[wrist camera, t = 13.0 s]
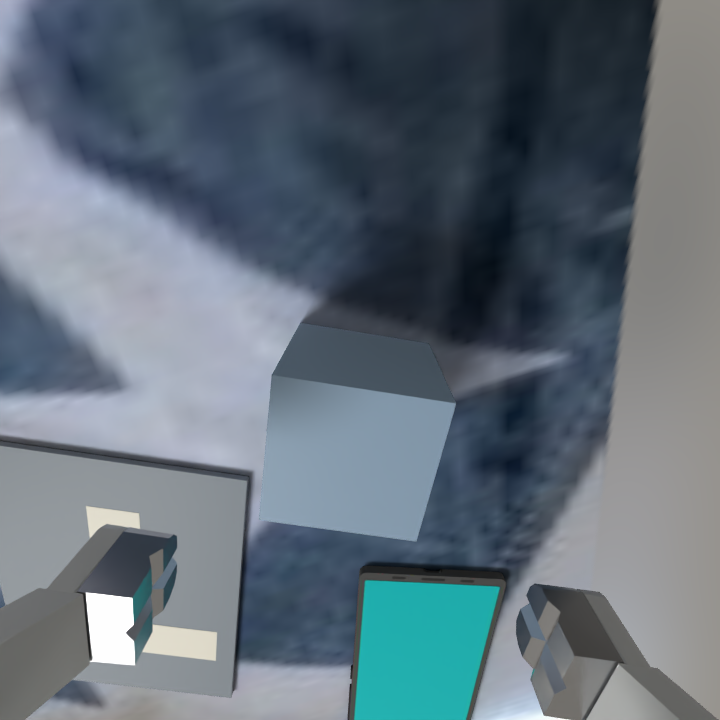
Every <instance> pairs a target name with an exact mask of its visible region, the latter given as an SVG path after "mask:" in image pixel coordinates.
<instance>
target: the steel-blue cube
mask: <svg viewBox="0 0 720 720" xmlns="http://www.w3.org/2000/svg"><path fill="white" fill-rule="evenodd" d="M455 406H456V402H455V400H454V398H453V396H452V393H451V391H450V389H449V387H448V385H447V382H446V380H445V378H444V376H443V374H442V371H441V369H440V367H439V365H438V363H437V360H436V358H435V356H434V354H433V352H432V350H431V347H430V345H429V343H422V342H416V341H410V340H404V339H398V338H392V337H385V336H379V335H373V334H367V333H361V332H354V331H348V330H342V329H336V328H330V327H324V326H317V325H311V324H305V323H300V325H299V326H298V328H297V330H296V332H295V334H294V335H293V337H292V339H291V341H290V343H289V345H288V346H287V348H286V350H285V352H284V354H283V356H282V357H281V359H280V361H279V363H278V365H277V367H276V368H275V370H274V372H273V374H272V379H271V390H270V401H269V413H268V424H267V435H266V446H265V457H264V468H263V480H262V491H261V502H260V513H259V520H263V521H270V522H278V523H285V524H292V525H300V526H307V527H314V528H322V529H329V530H336V531H344V532H351V533H358V534H366V535H373V536H380V537H388V538H395V539H402V540H410V541H417V537H418V534H419V530H420V527H421V523H422V520H423V516H424V513H425V509H426V506H427V503H428V499H429V496H430V492H431V489H432V485H433V482H434V478H435V475H436V471H437V468H438V465H439V461H440V458H441V454H442V451H443V447H444V444H445V440H446V437H447V433H448V430H449V427H450V423H451V420H452V416H453V413H454V409H455Z"/></svg>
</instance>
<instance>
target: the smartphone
mask: <svg viewBox="0 0 720 720" xmlns="http://www.w3.org/2000/svg"><path fill="white" fill-rule="evenodd" d="M505 587H506V582H505V579H504V576H503V574H502V573H500V572H487V571H467V570H447V569H440V571H427V570H425V568H406V567H385V566H363V567H362V568H361V569H360V572H359V586H358V600H357V615H356V629H355V643H354V657H353V666H352V665H351V676H350V679H352V684H350V691H349V705H348V720H471V716H472V712H473V709H474V705H475V701H476V697H477V693H478V690H479V686H480V682H481V678H482V674H483V671H484V667H485V663H486V659H487V655H488V652H489V648H490V644H491V640H492V637H493V633H494V629H495V625H496V621H497V618H498V614H499V610H500V606H501V602H502V599H503V595H504V591H505Z"/></svg>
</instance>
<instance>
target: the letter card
mask: <svg viewBox="0 0 720 720" xmlns="http://www.w3.org/2000/svg"><path fill="white" fill-rule="evenodd" d="M248 483H249V477H248V476H241V475H234V474H227V473H220V472H213V471H206V470H199V469H192V468H185V467H178V466H171V465H164V464H157V463H150V462H143V461H136V460H129V459H122V458H115V457H108V456H101V455H94V454H87V453H80V452H73V451H66V450H59V449H52V448H45V447H38V446H31V445H24V444H17V443H10V442H3V441H0V584H1V589H2V593H3V597H4V601H5V605H8V604H10V603H12V602H13V601H15V600H17V599H19V598H21V597H23V596H25V595H26V594H28V593H30V592H32V591H34V590H36V589H38V588H43V589H47V587H48V586H49V585H50V584H51V583H52V582H53V581H54V579H55V578H56V577H57V576H58V575H59V574H60V572H61V571H62V570H63V569H64V568H65V567H66V566H67V564H68V563H69V562H70V561H71V560H72V559H73V557H74V556H75V555H76V554H77V553H78V552H79V551H80V549H81V548H82V547H83V546H84V545H85V544H86V542H87V541H88V540H89V539H90V538H91V537H92V536H93V534H94V533H95V532H96V531H97V530H98V529H99V528H100V527H102V526H104V525H105V524H111V525H117V526H123V527H132V528H138V529H144V530H150V531H156V532H162V533H168V534H174V535H176V536H177V549H176V551H175V553H174V555H173V556H172V557H173V558H174V560H175V561H176V562H177V574H176V580H175V584H174V587H173V590H172V593H171V596H170V598H169V600H168V602H167V604H166V606H165V608H164V610H163V611H162V612H161V613H159V614H158V615H157V616H155V617H154V618H153V632H152V634H151V636H150V638H149V639H148V641H147V643H146V645H145V647H144V649H143V651H142V653H141V655H140V657H139V659H138V661H137V663H136V664H135V665H124V664H113V663H102V662H91V661H90V665H89V666H87V667H86V668H85V669H84V670H83V671H82V672H80V673H79V674H78V675H77V676H76V677H75V678H73V679H72V680H79V681H88V682H96V683H105V684H114V685H123V686H131V687H140V688H149V689H157V690H166V691H175V692H184V693H192V694H201V695H210V696H219V697H227V698H231V697H232V693H233V683H234V670H235V656H236V643H237V629H238V616H239V603H240V589H241V576H242V563H243V549H244V536H245V523H246V509H247V496H248Z"/></svg>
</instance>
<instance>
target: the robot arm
mask: <svg viewBox="0 0 720 720" xmlns="http://www.w3.org/2000/svg"><path fill="white" fill-rule="evenodd" d="M176 549H177V536H176V535H174V534H168V533H162V532H156V531H150V530H144V529H138V528H132V527H123V526H117V525H111V524H105V525H104V526H102V527H100V528H99V529H98V530H97V531H96V532H95V533H94V534H93V536H92V537H91V538H90V539H89V540H88V541H87V542H86V544H85V545H84V546H83V547H82V548H81V549H80V551H79V552H78V553H77V554H76V555H75V556H74V557H73V559H72V560H71V561H70V562H69V563H68V564H67V566H66V567H65V568H64V569H63V570H62V571H61V572H60V574H59V575H58V576H57V577H56V578H55V579H54V581H53V582H52V583H51V584H50V585H49V586H48V587H47V589H43V588H38V589H36V590H34V591H32V592H30V593H28V594H26V595H25V596H23V597H21V598H19V599H17V600H15V601H13V602H12V603H10V604H8V605H6V606H4V607H2V608H0V720H25V719H26V718H27V717H28V716H30V715H31V714H32V713H33V712H34V711H36V710H37V709H38V708H39V707H40V706H41V705H43V704H44V703H45V702H46V701H47V700H49V699H50V698H51V697H52V696H53V695H54V694H56V693H57V692H58V691H59V690H60V689H62V688H63V687H64V686H65V685H66V684H67V683H69V682H70V681H71V680H72V679H73V678H75V677H76V676H77V675H78V674H79V673H80V672H82V671H83V670H84V669H85V668H86V667H87V666H89V665H90V661H91V662H102V663H113V664H124V665H135V664H136V663H137V661H138V659H139V657H140V655H141V653H142V651H143V649H144V647H145V645H146V643H147V641H148V639H149V638H150V636H151V634H152V632H153V618H154V617H155V616H157V615H158V614H159V613H161V612H162V611H163V610H164V608H165V606H166V604H167V602H168V600H169V598H170V596H171V593H172V590H173V587H174V584H175V580H176V574H177V562H176V561H175V560H174V558H173V557H172V556H173V555H174V553H175V551H176ZM527 598H528V600H529V604H528V605H526V606H525V607H523V608H522V609H520V612H519V615H518V617H517V620H516V635H517V640H518V645H519V648H520V651H521V654H522V657H523V658H524V659H525V660H526V661H527V662H528V664H529V665H530V666H531V667H532V668H533V672H532V676H531V682H532V685H533V687H534V690H535V693H536V695H537V698H538V701H539V704H540V706H541V709H542V712H543V715H544V716H550V717H557V718H563V719H570V720H718V719H717V718H716V717H714V716H713V715H712V714H711V713H710V712H708V711H707V710H706V709H705V708H704V707H703V706H701V705H700V704H699V703H698V702H697V701H696V700H694V699H693V698H692V697H691V696H690V695H689V694H687V693H686V692H685V691H684V690H683V689H681V688H680V687H679V686H678V685H677V684H675V683H674V682H673V681H672V680H671V679H670V678H668V677H667V676H666V675H665V674H664V673H663V672H661V671H660V670H659V669H658V668H653V667H650V666H649V664H648V663H647V661H646V659H645V658H644V656H643V655H642V653H641V652H640V650H639V648H638V647H637V645H636V644H635V642H634V641H633V639H632V638H631V636H630V635H629V633H628V631H627V630H626V628H625V627H624V625H623V624H622V622H621V620H620V619H619V617H618V616H617V614H616V613H615V611H614V610H613V608H612V606H611V605H610V603H609V602H608V600H607V599H606V597H605V596H604V595H602V594H601V593H600V592H595V591H588V590H580V589H574V588H566V587H558V586H550V585H542V584H534V585H532V586H531V587H530V588H529V591H528V593H527Z"/></svg>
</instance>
